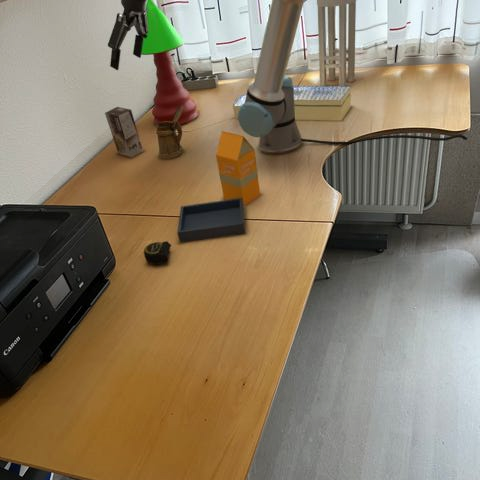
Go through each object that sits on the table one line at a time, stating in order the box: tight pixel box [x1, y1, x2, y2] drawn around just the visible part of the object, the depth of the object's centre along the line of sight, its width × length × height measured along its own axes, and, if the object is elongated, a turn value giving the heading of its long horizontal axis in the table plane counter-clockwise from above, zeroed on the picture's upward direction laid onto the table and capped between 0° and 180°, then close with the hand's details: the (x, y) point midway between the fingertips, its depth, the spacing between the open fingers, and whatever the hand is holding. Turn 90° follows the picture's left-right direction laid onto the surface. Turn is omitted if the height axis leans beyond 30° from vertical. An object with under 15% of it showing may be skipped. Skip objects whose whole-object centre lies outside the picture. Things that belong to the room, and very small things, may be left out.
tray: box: [176, 198, 246, 243], centre depth 139 cm, size 19×15×3 cm
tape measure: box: [143, 240, 172, 265], centre depth 130 cm, size 7×7×4 cm
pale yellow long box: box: [232, 85, 352, 122], centre depth 192 cm, size 45×15×10 cm, turn 66°
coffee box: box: [104, 106, 144, 158], centre depth 183 cm, size 9×6×16 cm
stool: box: [316, 0, 357, 87], centre depth 201 cm, size 16×16×35 cm
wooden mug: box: [155, 105, 184, 160], centre depth 175 cm, size 9×14×18 cm, turn 68°
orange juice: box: [215, 130, 261, 206], centre depth 143 cm, size 8×9×20 cm
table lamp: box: [141, 0, 199, 126], centre depth 195 cm, size 20×20×45 cm
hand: (125, 61), depth 162 cm, fingers open, 13 cm apart
